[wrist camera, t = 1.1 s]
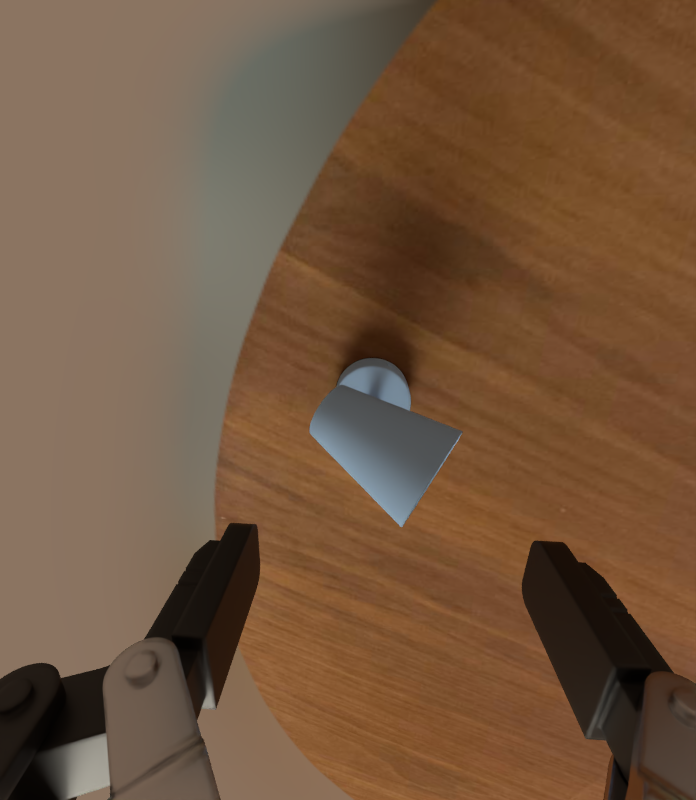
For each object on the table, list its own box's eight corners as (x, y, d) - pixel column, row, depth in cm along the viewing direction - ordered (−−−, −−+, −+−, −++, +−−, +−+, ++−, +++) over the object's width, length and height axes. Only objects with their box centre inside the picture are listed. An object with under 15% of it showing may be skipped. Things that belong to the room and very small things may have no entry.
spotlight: (447, 384, 23) (344, 337, 22) (500, 471, 14) (327, 395, 13) (409, 449, 25) (312, 407, 24) (434, 565, 15) (277, 503, 15)
